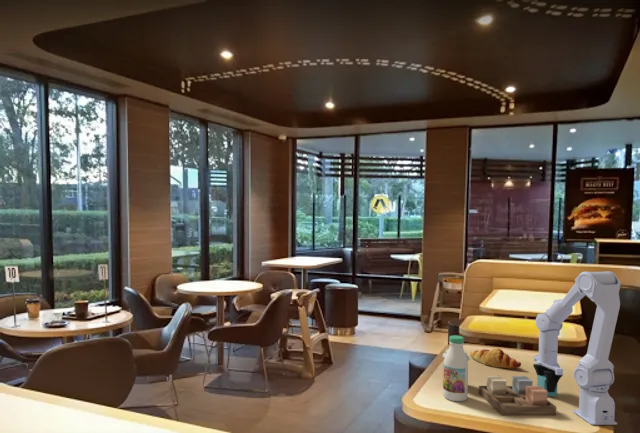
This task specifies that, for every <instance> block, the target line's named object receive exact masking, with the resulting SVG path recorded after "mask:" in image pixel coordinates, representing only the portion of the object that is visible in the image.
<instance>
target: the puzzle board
mask: <svg viewBox="0 0 640 433" xmlns="http://www.w3.org/2000/svg"><path fill="white" fill-rule="evenodd" d="M478 394H479V395H480V396H481V397H482V398H483V399H484V400H485V401H486V402H487V403H488V404H490V406H491V407H492V408H493V409H494V410H496V412H498V413H499V414H500V415H501V416H556V415H557V406H556V405H555V404H553V403H552V402H551V401H549V400H548V396H547V391H546V390H545V389H543V388H542V387H541V386H537V385H533V380H532V379H530V378H529V377H528V376H526V375H512V383H511V385H507V380H506V379H505V378H503V377H502V376H501V375H487V376H486V385H479V386H478Z"/></svg>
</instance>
